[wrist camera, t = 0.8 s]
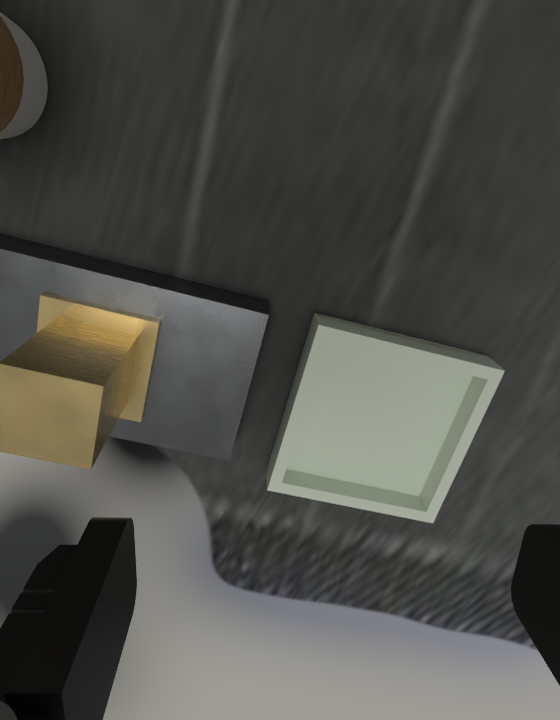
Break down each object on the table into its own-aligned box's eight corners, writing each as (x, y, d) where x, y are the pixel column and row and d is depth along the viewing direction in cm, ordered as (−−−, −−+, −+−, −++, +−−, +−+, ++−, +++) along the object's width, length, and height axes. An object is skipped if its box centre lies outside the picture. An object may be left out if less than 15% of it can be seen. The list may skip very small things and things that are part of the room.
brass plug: (63, 280, 30) (-26, 335, 20) (169, 306, 31) (130, 370, 21) (53, 375, 32) (-32, 463, 23) (152, 396, 33) (109, 490, 24)
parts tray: (314, 312, 31) (318, 324, 29) (487, 355, 33) (505, 370, 30) (266, 468, 35) (267, 490, 33) (422, 500, 37) (432, 523, 35)
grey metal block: (-36, 224, 28) (-68, 232, 26) (268, 300, 31) (268, 315, 28) (-41, 378, 32) (-69, 399, 29) (232, 436, 34) (229, 460, 32)
